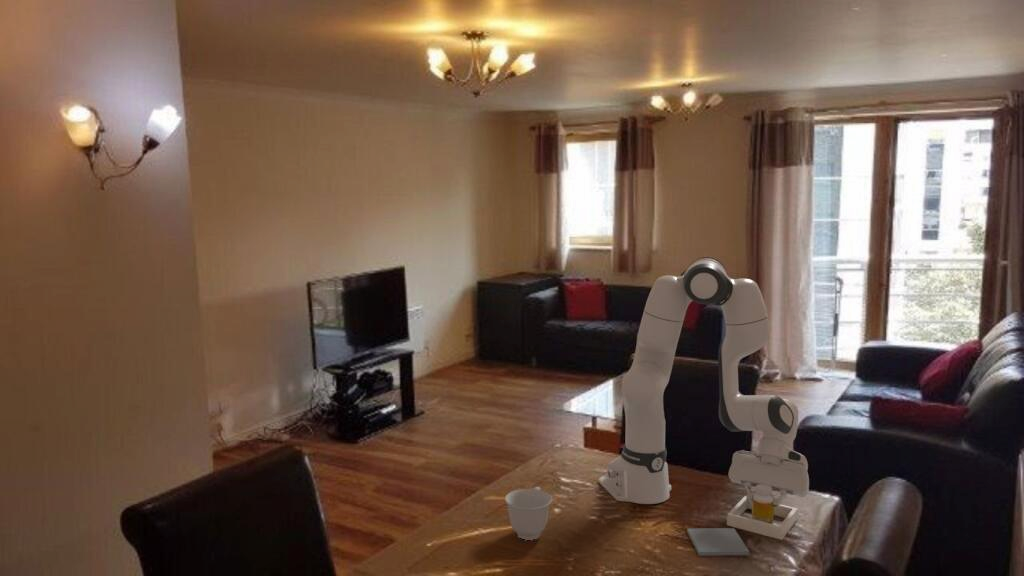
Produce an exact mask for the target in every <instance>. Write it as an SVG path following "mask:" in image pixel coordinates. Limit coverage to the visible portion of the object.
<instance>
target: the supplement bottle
mask: <svg viewBox="0 0 1024 576" xmlns="http://www.w3.org/2000/svg"><path fill="white" fill-rule="evenodd" d="M772 492H773V491H772V487H771V486H769V485H764V484H758V485H756V487H755V492H753V493H752V494H753V500H752V509H751V519H754V520H758V521H762V522H766V523H770V524H774V516H775V515H774V507H773V502H774V498H775V496H774V495H773V494H772Z"/></svg>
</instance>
